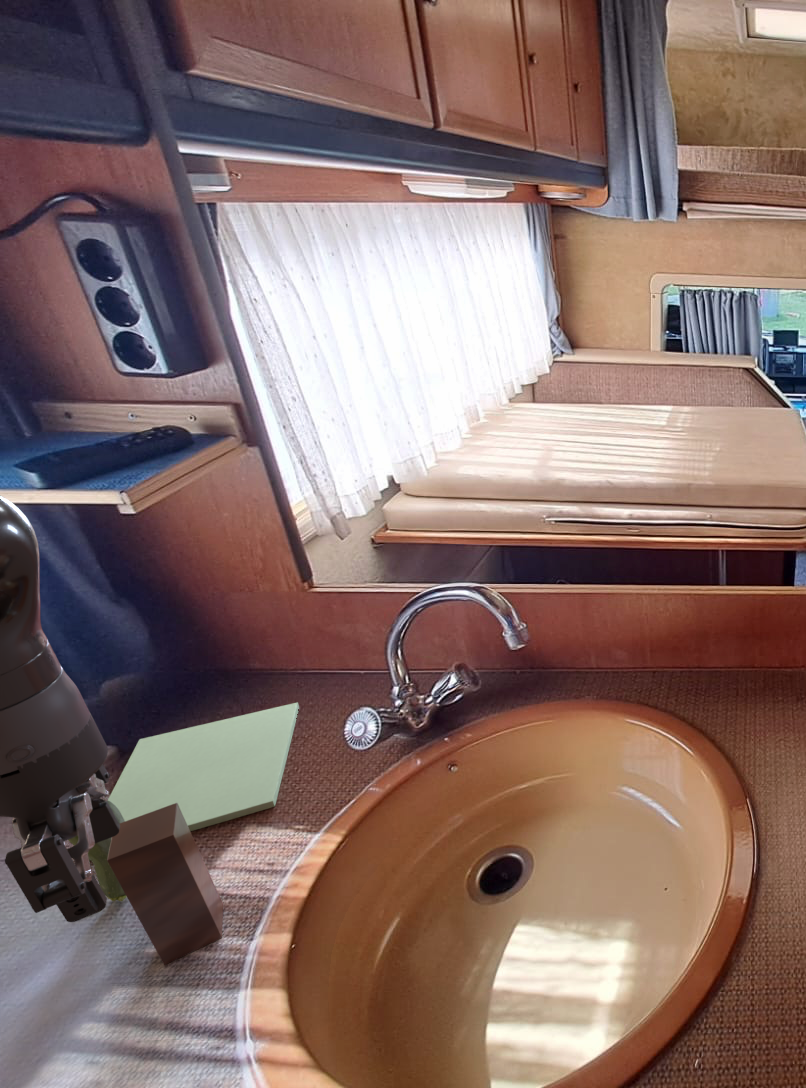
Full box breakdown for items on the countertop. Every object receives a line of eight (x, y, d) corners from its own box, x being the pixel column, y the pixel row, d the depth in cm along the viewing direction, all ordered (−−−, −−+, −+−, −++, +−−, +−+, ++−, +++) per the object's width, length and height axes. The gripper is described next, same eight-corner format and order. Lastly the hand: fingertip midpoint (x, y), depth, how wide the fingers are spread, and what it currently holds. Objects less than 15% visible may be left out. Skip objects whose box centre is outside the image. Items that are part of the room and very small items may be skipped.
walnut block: (164, 965, 71) (106, 860, 64) (168, 928, 74) (114, 825, 67) (222, 938, 74) (173, 834, 67) (223, 903, 77) (177, 802, 70)
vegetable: (148, 871, 80) (91, 758, 72) (161, 890, 78) (104, 776, 70) (100, 900, 76) (34, 784, 69) (112, 920, 74) (46, 803, 67)
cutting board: (80, 863, 80) (77, 857, 80) (142, 744, 98) (139, 739, 97) (275, 806, 90) (273, 800, 89) (299, 707, 107) (297, 702, 107)
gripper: (-31, 702, 51) (50, 837, 57) (-96, 827, 41) (11, 973, 47) (101, 667, 55) (163, 796, 61) (72, 772, 45) (148, 913, 52)
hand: (97, 873), depth 54 cm, fingers open, 8 cm apart
